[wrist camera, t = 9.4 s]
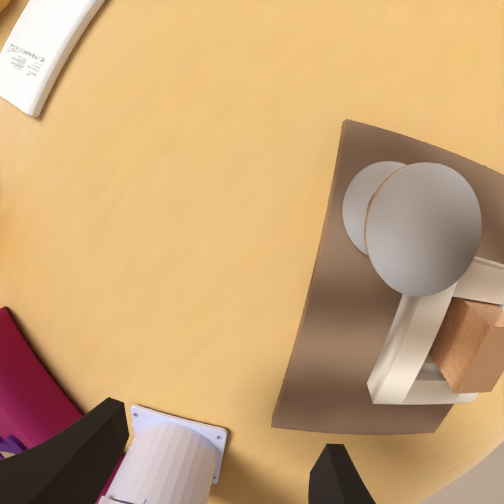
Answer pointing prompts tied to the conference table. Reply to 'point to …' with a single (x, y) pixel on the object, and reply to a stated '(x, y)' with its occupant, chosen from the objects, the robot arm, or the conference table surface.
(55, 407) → the book
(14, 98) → the external hard drive
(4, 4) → the rubber stamp
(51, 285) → the conference table surface
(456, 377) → the orange and brown block
